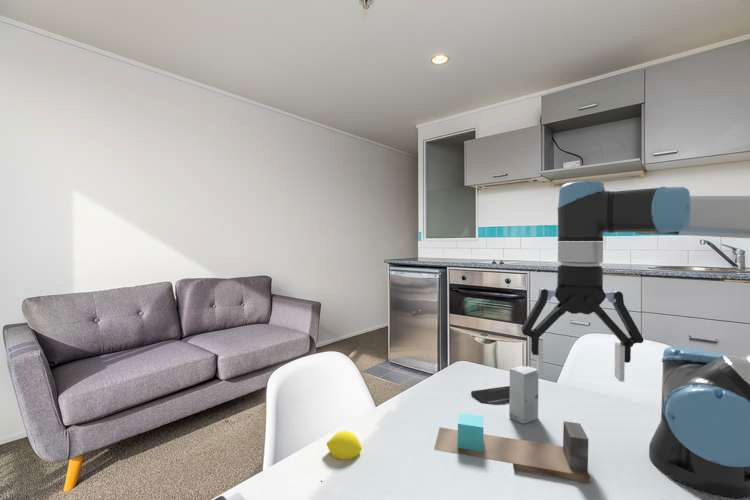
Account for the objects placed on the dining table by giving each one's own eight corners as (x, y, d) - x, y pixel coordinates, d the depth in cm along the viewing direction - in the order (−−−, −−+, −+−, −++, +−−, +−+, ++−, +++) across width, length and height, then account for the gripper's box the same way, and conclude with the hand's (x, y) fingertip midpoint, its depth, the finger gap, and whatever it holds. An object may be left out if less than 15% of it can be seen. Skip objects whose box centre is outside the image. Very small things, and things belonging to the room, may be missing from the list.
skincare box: (524, 425, 86) (525, 374, 85) (507, 417, 90) (508, 368, 89) (539, 418, 89) (540, 369, 89) (523, 410, 93) (523, 364, 93)
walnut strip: (577, 454, 74) (578, 419, 74) (589, 483, 65) (590, 443, 65) (439, 432, 82) (439, 401, 82) (434, 455, 73) (434, 420, 73)
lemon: (360, 453, 75) (364, 428, 75) (358, 470, 69) (362, 443, 69) (327, 448, 75) (330, 423, 75) (322, 465, 70) (326, 437, 69)
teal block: (483, 438, 77) (483, 415, 77) (483, 452, 73) (483, 427, 72) (459, 435, 79) (459, 412, 79) (457, 447, 74) (457, 423, 74)
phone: (532, 396, 100) (485, 403, 95) (532, 400, 100) (485, 407, 95) (513, 385, 107) (469, 391, 103) (513, 389, 107) (469, 394, 103)
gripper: (648, 264, 69) (646, 374, 69) (508, 262, 76) (507, 362, 77) (667, 267, 62) (665, 390, 62) (511, 264, 69) (510, 375, 69)
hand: (578, 375), depth 69 cm, fingers open, 13 cm apart
